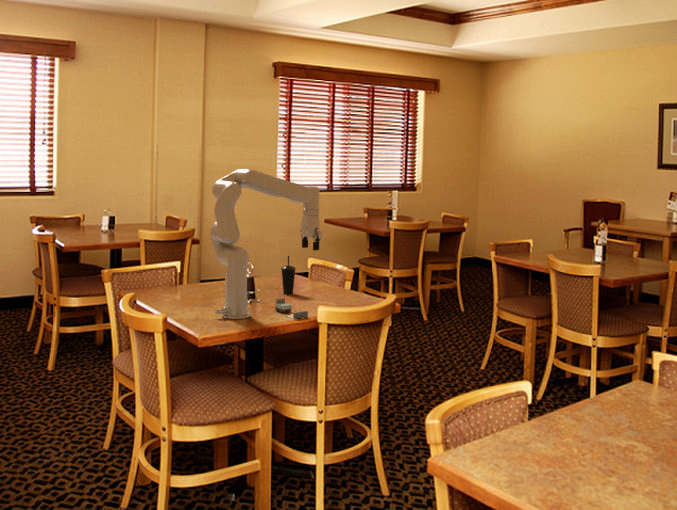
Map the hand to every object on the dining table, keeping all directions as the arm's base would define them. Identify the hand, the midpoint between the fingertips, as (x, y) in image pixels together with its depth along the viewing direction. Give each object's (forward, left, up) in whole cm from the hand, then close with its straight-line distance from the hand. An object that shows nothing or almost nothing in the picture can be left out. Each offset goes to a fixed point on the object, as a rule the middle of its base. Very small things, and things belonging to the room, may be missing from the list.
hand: (310, 248), depth 327 cm
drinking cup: (+5, +29, -28) cm, 40 cm away
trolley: (-17, -4, -28) cm, 33 cm away
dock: (-17, -16, -28) cm, 36 cm away
